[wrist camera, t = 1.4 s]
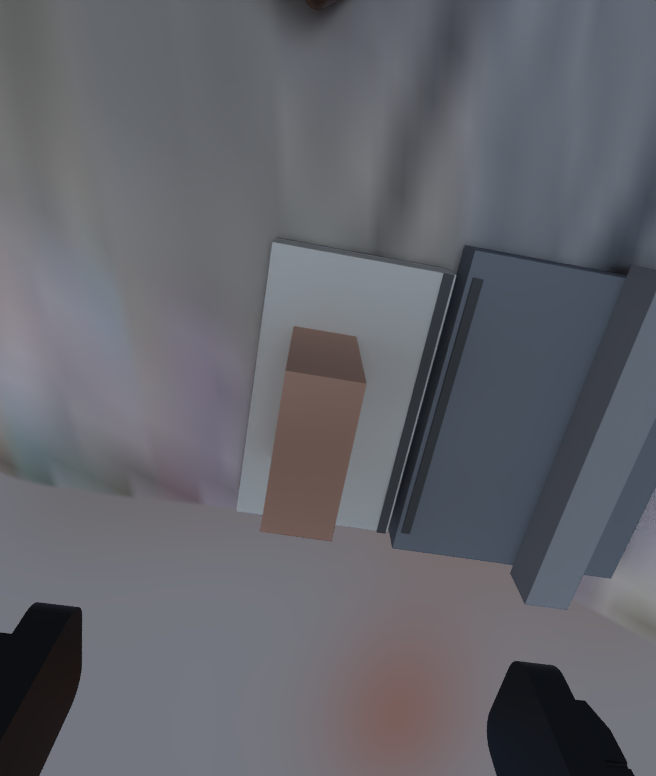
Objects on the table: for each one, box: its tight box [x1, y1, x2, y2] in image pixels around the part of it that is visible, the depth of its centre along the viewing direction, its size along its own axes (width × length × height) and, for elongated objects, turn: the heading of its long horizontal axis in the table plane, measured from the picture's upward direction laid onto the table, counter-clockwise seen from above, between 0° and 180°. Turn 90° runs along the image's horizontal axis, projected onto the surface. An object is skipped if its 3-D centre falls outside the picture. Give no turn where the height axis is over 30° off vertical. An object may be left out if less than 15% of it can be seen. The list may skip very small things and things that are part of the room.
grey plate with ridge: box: [389, 245, 656, 610], centre depth 22 cm, size 11×15×4 cm
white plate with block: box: [236, 238, 457, 541], centre depth 20 cm, size 7×12×6 cm, turn 170°
